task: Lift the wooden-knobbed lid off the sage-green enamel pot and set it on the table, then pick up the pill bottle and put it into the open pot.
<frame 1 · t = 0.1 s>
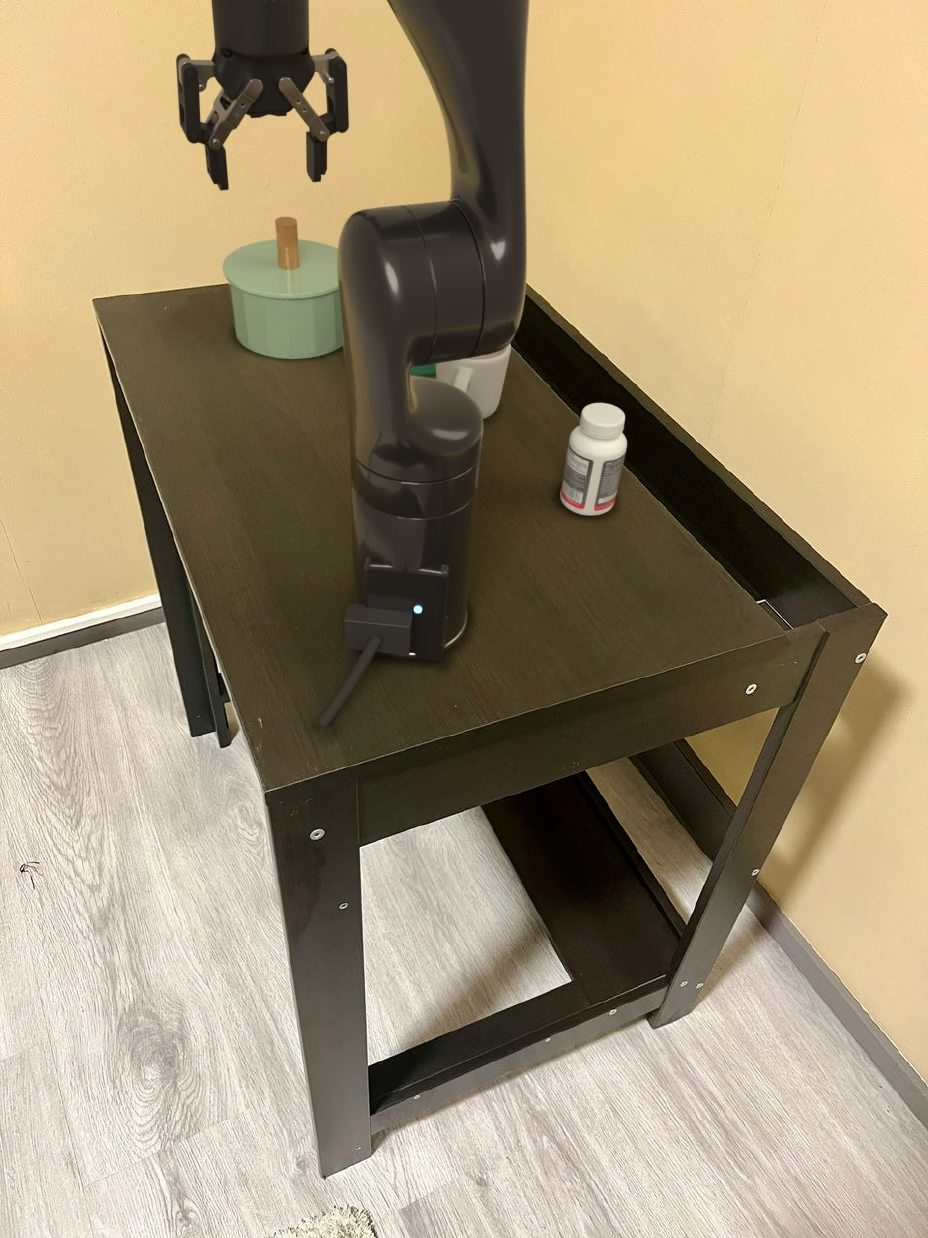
hand: (269, 181, 82), 22 cm above the table, tool pointing down, fingers open, 8 cm apart
beverage can: (420, 365, 105), on the table
lid: (289, 269, 104), point 7 cm above the table, touching pot
cup: (464, 417, 98), on the table
pill bottle: (585, 502, 89), on the table
pot: (293, 330, 109), on the table
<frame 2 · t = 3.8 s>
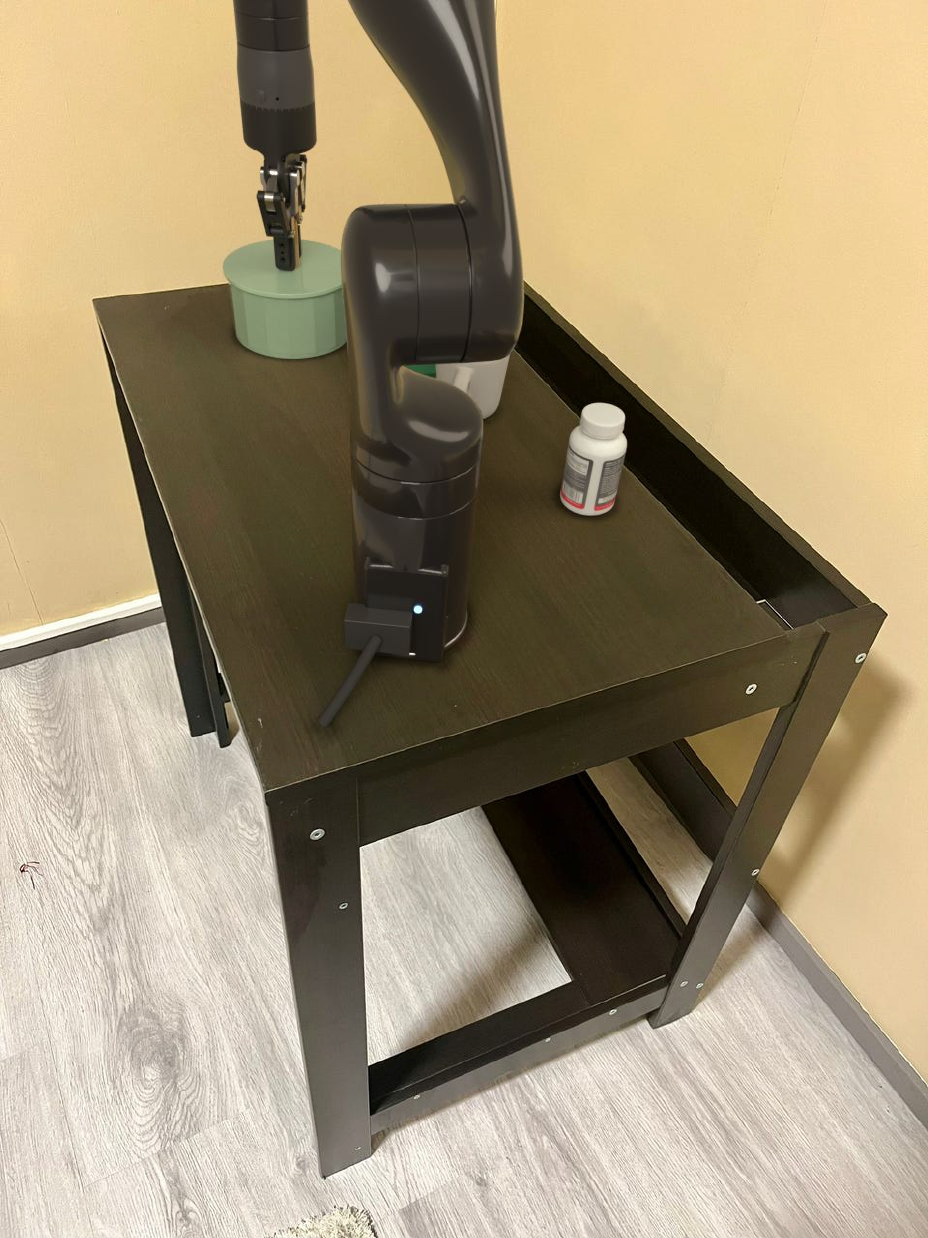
hand: (289, 262, 103), 8 cm above the table, tool pointing down, fingers closed on lid, 2 cm apart
lid: (289, 269, 104), point 8 cm above the table, touching gripper, pot
everything else where it was.
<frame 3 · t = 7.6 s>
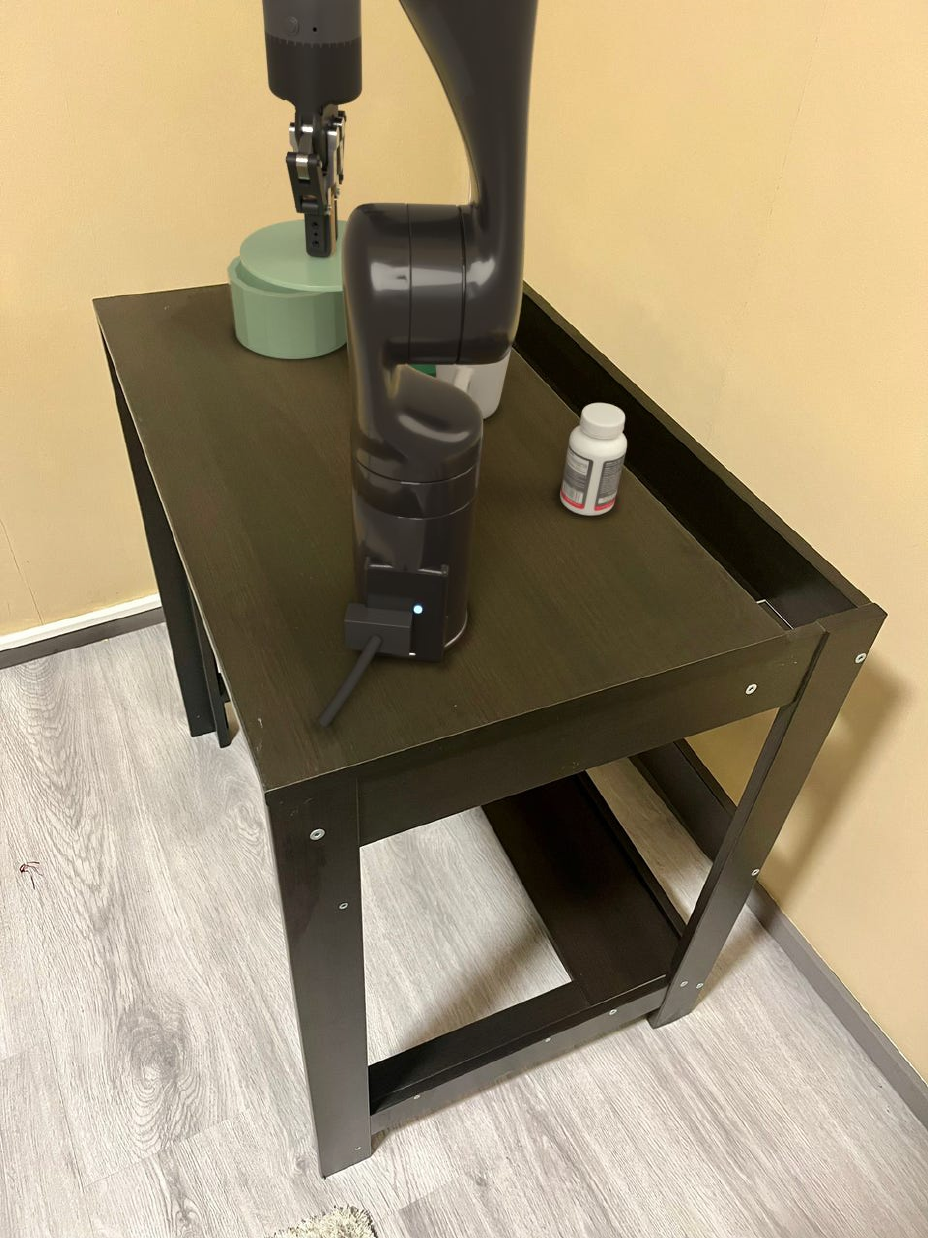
hand: (322, 247, 82), 19 cm above the table, tool pointing down, fingers closed on lid, 2 cm apart
lid: (322, 255, 83), point 18 cm above the table, touching gripper
everything else where it was.
when the fingers open (1 cm above the table, at t = 11.5 s): lid stays where it is, point 1 cm above the table.
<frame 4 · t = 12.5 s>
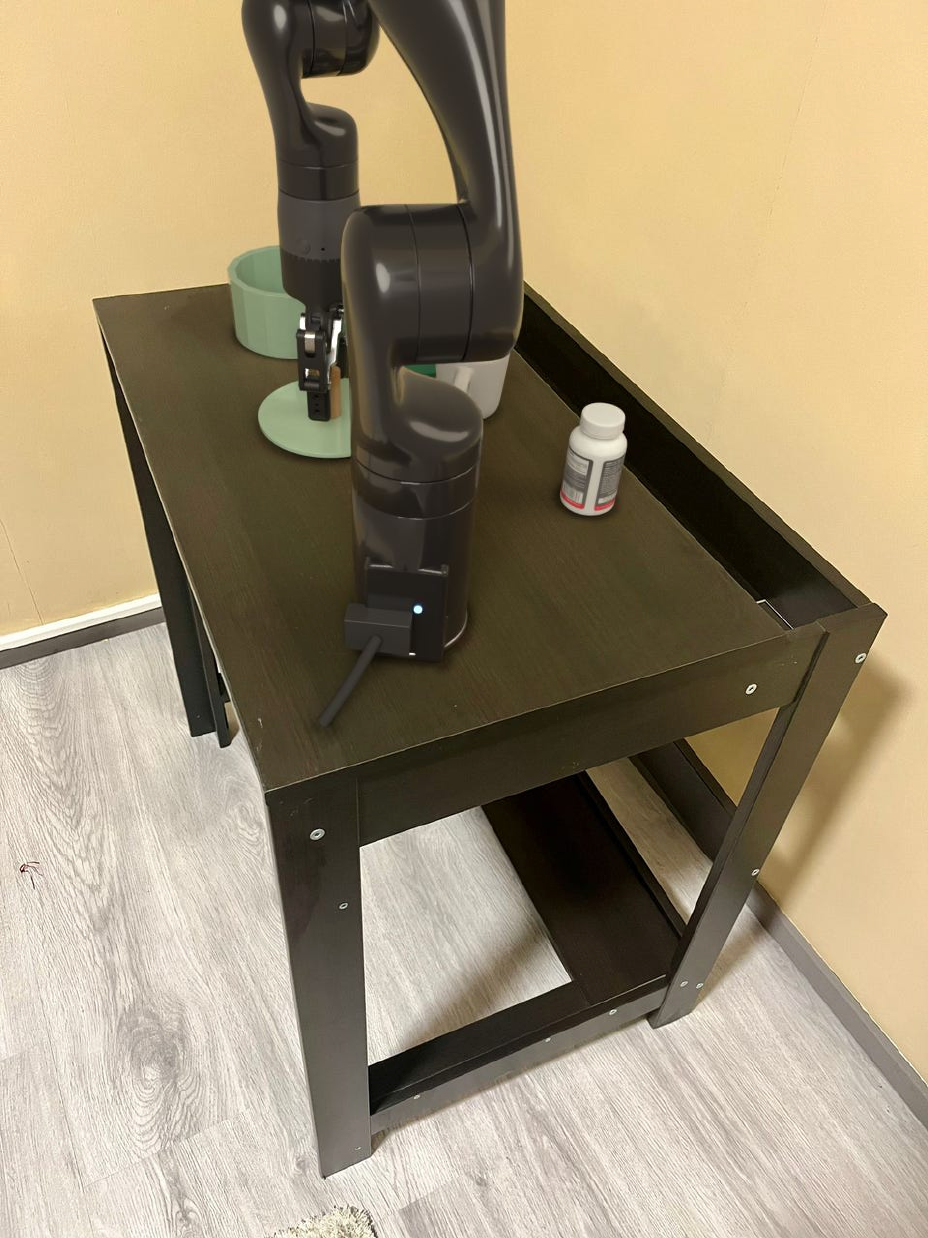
hand: (328, 397, 93), 3 cm above the table, tool pointing down, fingers open, 8 cm apart
lid: (330, 417, 95), point 1 cm above the table
everything else where it was.
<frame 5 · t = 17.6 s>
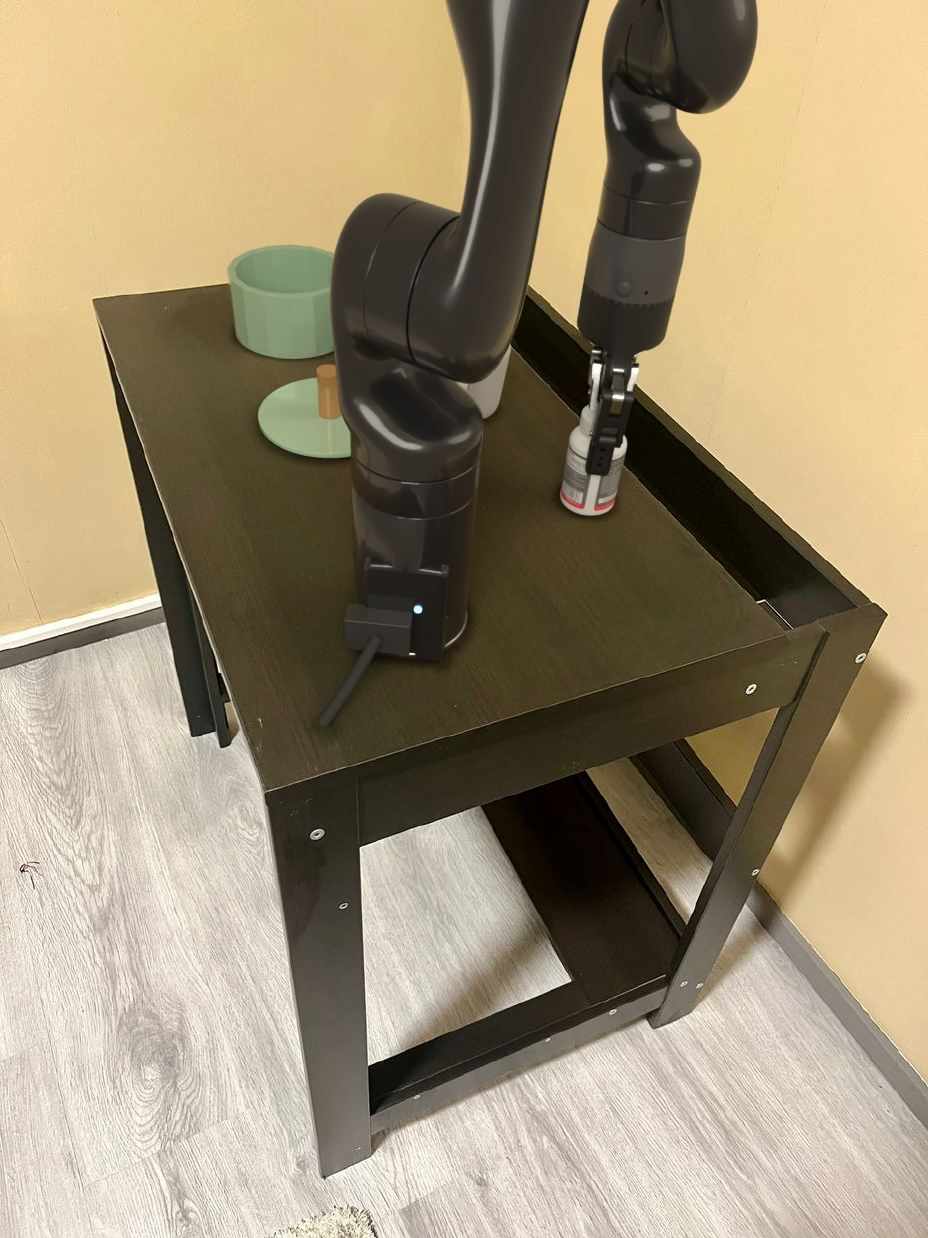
hand: (595, 453, 85), 5 cm above the table, tool pointing down, fingers closed on pill bottle, 5 cm apart
pill bottle: (585, 502, 89), on the table, touching gripper
everything else where it was.
when the fingers open (6 cm above the table, at t = 27.9 s): pill bottle stays where it is, resting on pot.
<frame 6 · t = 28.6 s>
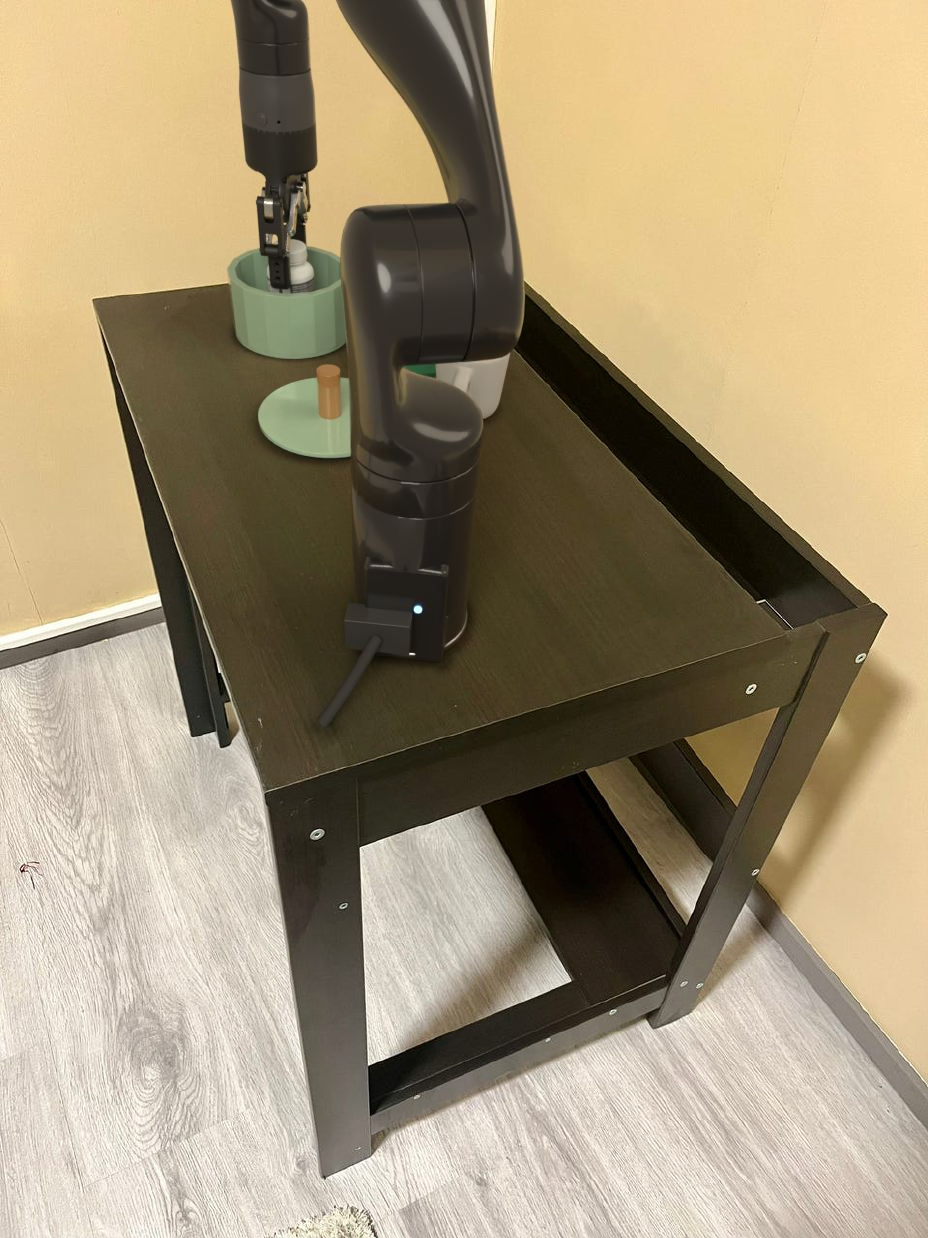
hand: (289, 271, 104), 7 cm above the table, tool pointing down, fingers open, 8 cm apart
pill bottle: (294, 328, 109), resting on pot
everything else where it was.
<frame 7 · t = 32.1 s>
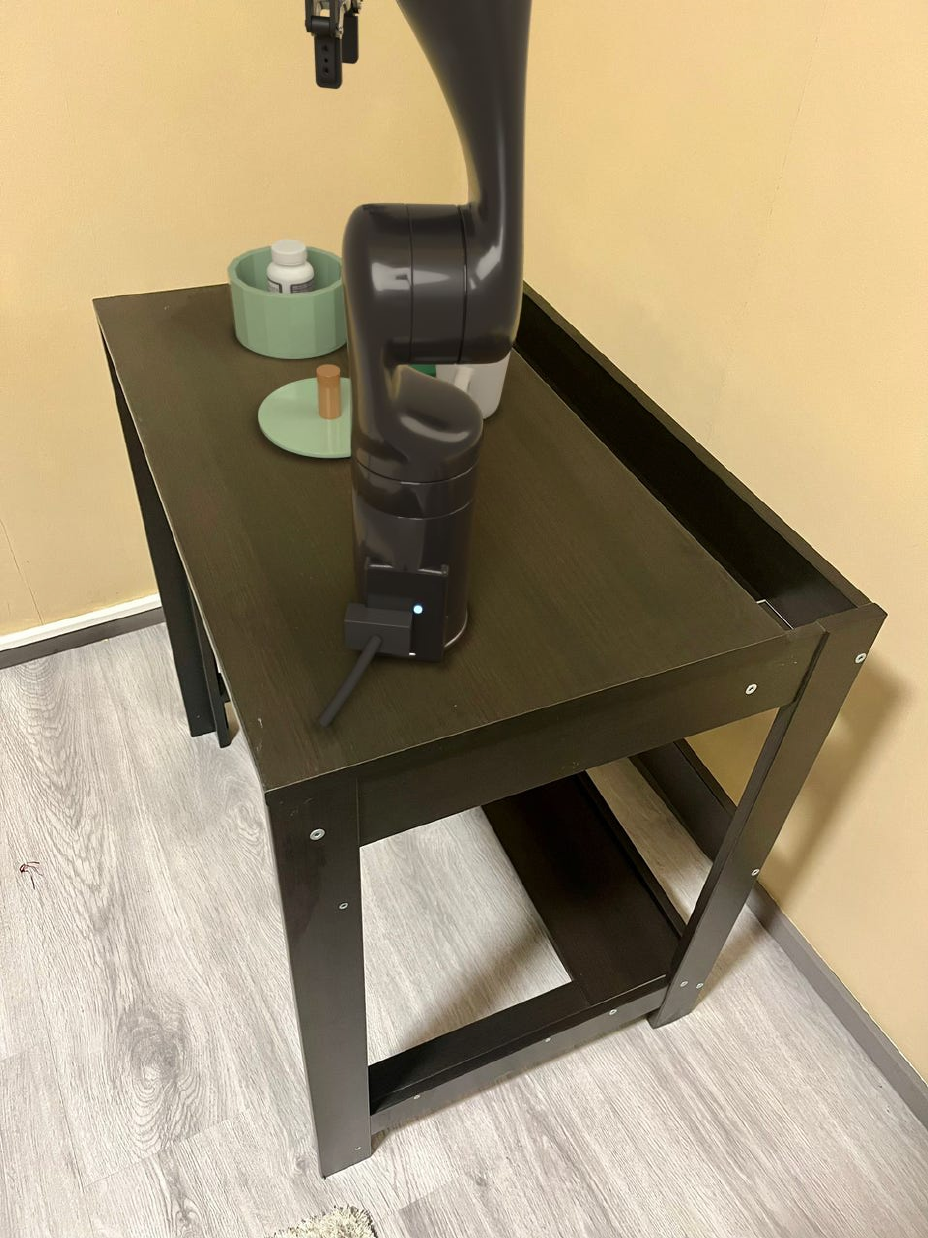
hand: (338, 74, 81), 30 cm above the table, tool pointing down, fingers open, 8 cm apart
nothing on the table moved.
at the end: lid inside the target area (0.1 cm from its centre), point 0.6 cm above the table; pill bottle inside the target area in the pot (0.1 cm from its centre), point 0.3 cm above the pot's base; pill bottle tilted 0° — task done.
